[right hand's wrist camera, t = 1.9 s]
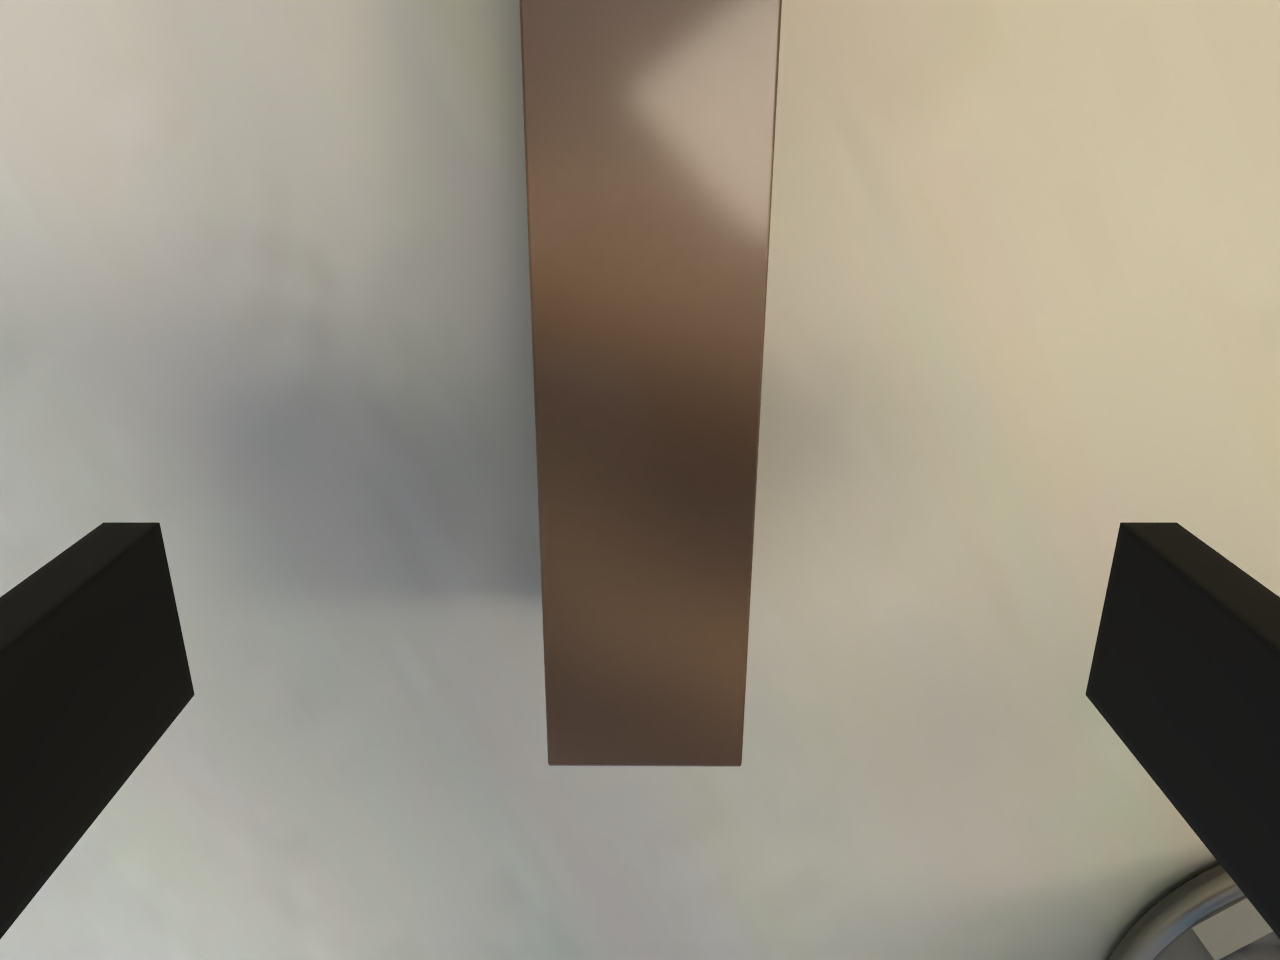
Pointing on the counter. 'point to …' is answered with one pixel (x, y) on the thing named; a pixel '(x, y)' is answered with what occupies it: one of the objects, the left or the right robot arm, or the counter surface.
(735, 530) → the post
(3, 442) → the counter surface
